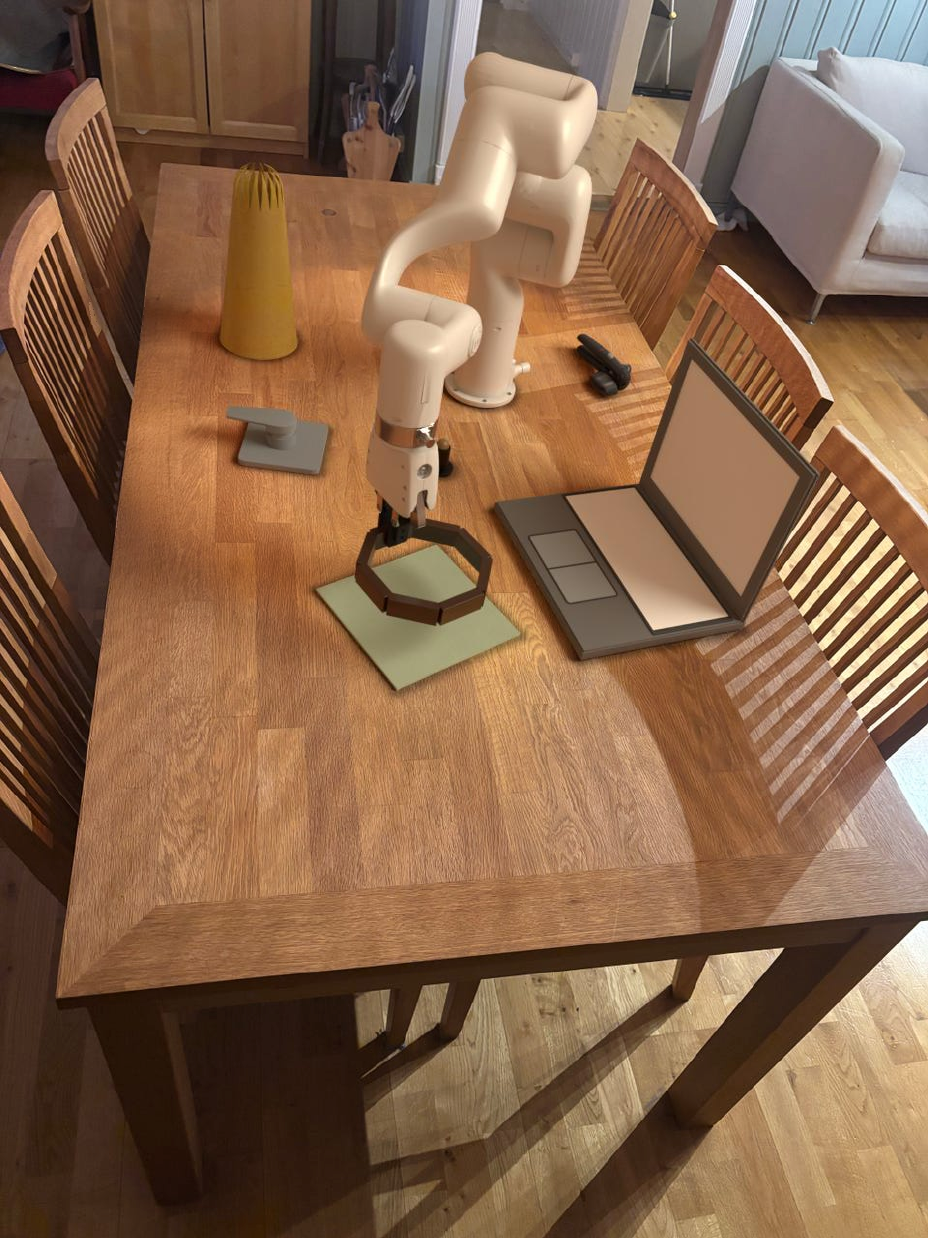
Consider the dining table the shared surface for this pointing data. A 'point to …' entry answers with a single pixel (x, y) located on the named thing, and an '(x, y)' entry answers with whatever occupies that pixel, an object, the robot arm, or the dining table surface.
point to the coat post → (444, 458)
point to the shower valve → (279, 440)
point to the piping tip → (258, 271)
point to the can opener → (604, 367)
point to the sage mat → (409, 644)
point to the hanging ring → (423, 608)
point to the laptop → (670, 524)
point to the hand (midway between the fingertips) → (391, 538)
